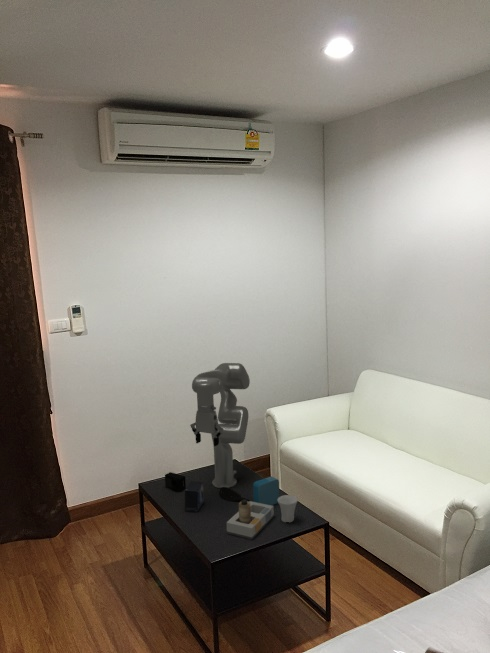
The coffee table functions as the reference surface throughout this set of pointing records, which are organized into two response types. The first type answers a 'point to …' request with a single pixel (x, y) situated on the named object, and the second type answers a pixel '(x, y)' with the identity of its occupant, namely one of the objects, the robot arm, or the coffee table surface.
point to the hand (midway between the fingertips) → (207, 443)
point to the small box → (194, 496)
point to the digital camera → (175, 482)
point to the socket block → (258, 521)
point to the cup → (287, 507)
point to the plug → (244, 512)
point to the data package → (266, 491)
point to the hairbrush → (228, 493)
